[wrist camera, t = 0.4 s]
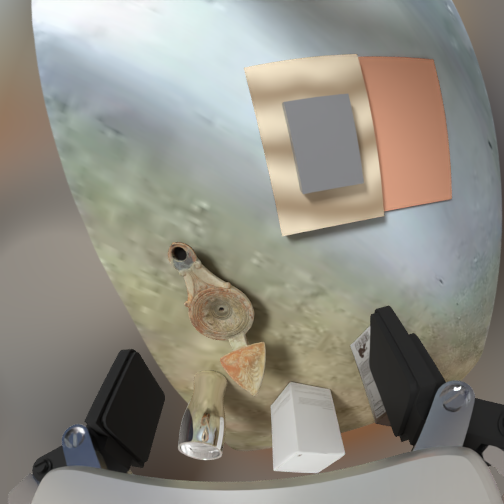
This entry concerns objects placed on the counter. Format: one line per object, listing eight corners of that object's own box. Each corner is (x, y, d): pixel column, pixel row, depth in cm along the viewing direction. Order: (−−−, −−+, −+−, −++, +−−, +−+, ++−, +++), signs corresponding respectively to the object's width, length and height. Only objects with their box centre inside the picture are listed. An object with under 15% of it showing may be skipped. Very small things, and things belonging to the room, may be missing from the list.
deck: (244, 71, 28) (243, 67, 26) (351, 57, 26) (357, 53, 25) (281, 230, 36) (282, 236, 34) (378, 211, 34) (384, 216, 32)
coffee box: (406, 337, 43) (443, 406, 28) (381, 361, 45) (410, 431, 31) (374, 319, 41) (412, 396, 26) (348, 346, 44) (374, 425, 29)
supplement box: (269, 406, 50) (271, 471, 37) (289, 380, 47) (297, 451, 33) (308, 413, 51) (317, 474, 38) (331, 388, 48) (346, 454, 34)
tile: (281, 103, 28) (283, 101, 26) (342, 95, 27) (348, 93, 25) (300, 190, 31) (302, 194, 30) (357, 180, 31) (363, 183, 29)
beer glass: (184, 372, 46) (167, 443, 33) (218, 364, 45) (207, 439, 32) (204, 395, 49) (193, 461, 35) (236, 387, 48) (231, 458, 34)
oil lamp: (232, 355, 44) (228, 403, 35) (153, 248, 37) (125, 286, 28) (281, 337, 43) (285, 386, 34) (207, 219, 35) (190, 251, 26)
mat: (354, 57, 26) (355, 56, 26) (431, 60, 25) (433, 59, 25) (380, 210, 34) (381, 211, 34) (450, 198, 33) (451, 198, 33)
